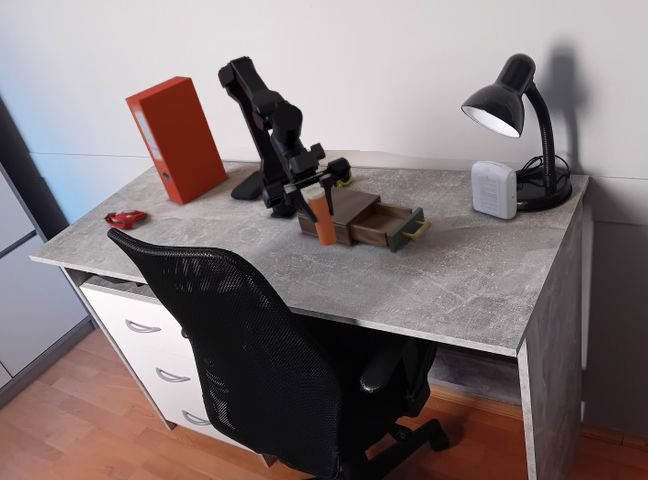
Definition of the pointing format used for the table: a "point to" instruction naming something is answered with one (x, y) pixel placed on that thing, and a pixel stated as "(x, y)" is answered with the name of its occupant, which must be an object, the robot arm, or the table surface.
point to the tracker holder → (124, 218)
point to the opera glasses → (343, 180)
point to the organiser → (341, 213)
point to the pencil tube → (321, 215)
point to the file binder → (178, 138)
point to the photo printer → (494, 189)
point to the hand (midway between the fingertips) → (324, 219)
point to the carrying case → (248, 188)
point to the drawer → (389, 225)
